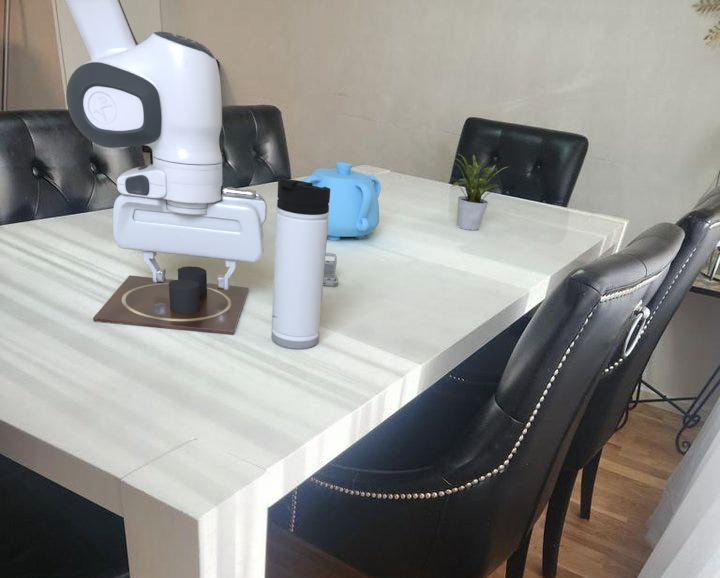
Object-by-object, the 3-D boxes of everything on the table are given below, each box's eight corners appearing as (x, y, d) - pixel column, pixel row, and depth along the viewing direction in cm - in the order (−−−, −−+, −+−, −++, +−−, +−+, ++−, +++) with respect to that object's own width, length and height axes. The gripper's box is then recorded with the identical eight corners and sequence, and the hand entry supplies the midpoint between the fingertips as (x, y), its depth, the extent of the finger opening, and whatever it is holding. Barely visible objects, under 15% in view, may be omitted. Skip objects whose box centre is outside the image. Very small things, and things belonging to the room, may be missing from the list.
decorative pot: (363, 250, 127) (373, 175, 120) (287, 234, 130) (291, 160, 122) (383, 233, 141) (393, 164, 133) (314, 219, 143) (319, 151, 136)
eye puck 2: (173, 302, 91) (172, 277, 89) (202, 305, 91) (201, 280, 89) (167, 312, 88) (165, 287, 86) (197, 315, 88) (196, 290, 86)
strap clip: (338, 287, 106) (341, 261, 104) (320, 286, 106) (322, 260, 103) (332, 271, 113) (334, 246, 111) (314, 270, 113) (316, 245, 110)
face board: (93, 321, 84) (92, 316, 83) (129, 278, 99) (129, 274, 98) (233, 334, 85) (233, 330, 85) (248, 290, 100) (248, 286, 100)
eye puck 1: (181, 288, 96) (180, 265, 94) (209, 291, 96) (208, 267, 94) (176, 297, 92) (175, 273, 91) (204, 300, 93) (204, 276, 91)
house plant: (421, 220, 154) (433, 144, 145) (458, 217, 163) (472, 145, 154) (466, 236, 146) (481, 157, 137) (503, 231, 154) (520, 156, 145)
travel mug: (259, 339, 85) (264, 175, 74) (291, 327, 90) (300, 171, 79) (297, 354, 83) (307, 186, 71) (327, 341, 87) (342, 181, 76)
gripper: (269, 187, 89) (265, 285, 97) (117, 169, 88) (126, 271, 95) (265, 196, 84) (262, 300, 92) (103, 177, 82) (114, 285, 90)
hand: (191, 285), depth 94 cm, fingers open, 8 cm apart
